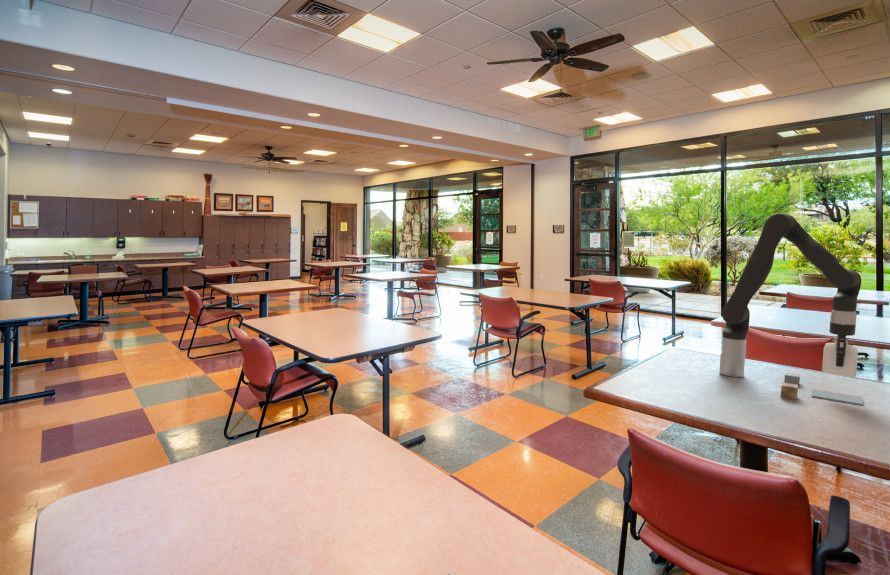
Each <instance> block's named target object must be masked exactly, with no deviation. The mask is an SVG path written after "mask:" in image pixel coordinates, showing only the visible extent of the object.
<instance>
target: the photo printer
mask: <svg viewBox="0 0 890 575" xmlns="http://www.w3.org/2000/svg"><path fill="white" fill-rule="evenodd" d="M858 352H859V351H858V348H857V347H856V346H854V345H851V344H849V343H848V344H847V351H846V352H845V357H844V364H843V367H838V366H836V350H835V342H827V343H825V344H824V347H823V353H822V354H823V356H822V366H821V367H822V368H821V372H822V373H825V374H830V375H831V374H833V375H836V376H838V375H839V376H844V377H850V378H856V377H857V369H858V359H859V358H858V357H859V355H858V354H859V353H858ZM838 353H842V354H843V351H838Z"/></svg>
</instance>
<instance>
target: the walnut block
mask: <svg viewBox="0 0 890 575" xmlns="http://www.w3.org/2000/svg"><path fill="white" fill-rule="evenodd" d="M798 389H799V386H798V385H796V384H790V383H784V381H783V382H782V383H781V388H780V398H781V399H786V400H793V401H797V400H798V393H799V392H798V391H799V390H798Z"/></svg>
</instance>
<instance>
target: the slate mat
mask: <svg viewBox="0 0 890 575" xmlns="http://www.w3.org/2000/svg"><path fill="white" fill-rule="evenodd" d="M815 397H816V399H821V398H822V400H827V399H828V400H827V401H834V402H841V403H845V404H852V405H857V406H862V405H864V402H863V397H862V396H859V395H854V394H847V393H840V392H833V391H827V390H822V389H815V388H812V390H811V398H815Z"/></svg>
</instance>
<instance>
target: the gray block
mask: <svg viewBox="0 0 890 575" xmlns="http://www.w3.org/2000/svg"><path fill="white" fill-rule="evenodd" d="M800 378H801V375H800V374H799V373H798V374H797V373H789V372H785V373H784V381H783V382H784V383H790V384H796V385H798V387H799V386H800V382H801V381H800Z"/></svg>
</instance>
